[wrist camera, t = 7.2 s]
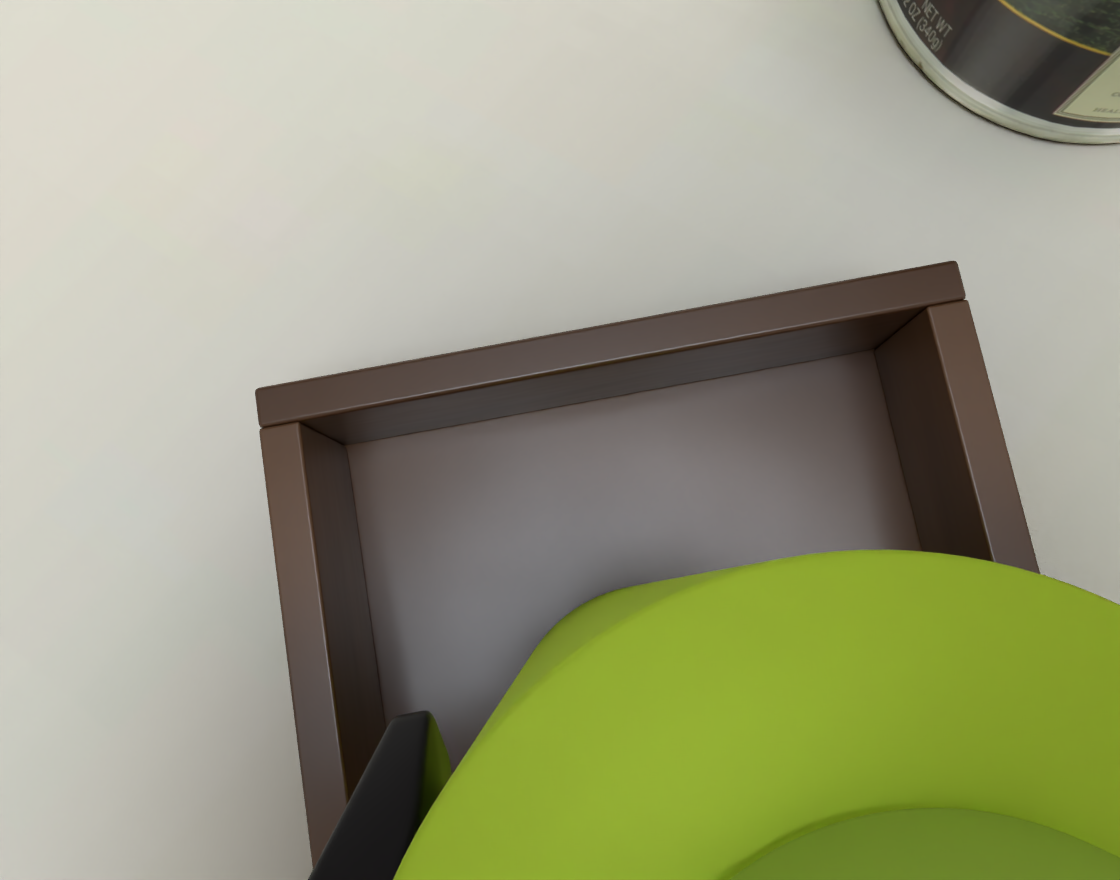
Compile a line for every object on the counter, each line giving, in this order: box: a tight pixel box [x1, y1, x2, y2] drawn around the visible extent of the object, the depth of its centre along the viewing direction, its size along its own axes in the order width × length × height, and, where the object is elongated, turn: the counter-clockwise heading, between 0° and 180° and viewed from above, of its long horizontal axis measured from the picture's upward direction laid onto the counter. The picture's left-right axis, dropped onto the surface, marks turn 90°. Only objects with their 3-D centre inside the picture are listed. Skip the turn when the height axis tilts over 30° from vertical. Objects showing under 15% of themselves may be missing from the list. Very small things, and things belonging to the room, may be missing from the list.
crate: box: [255, 261, 1040, 869], centre depth 17 cm, size 15×14×4 cm
